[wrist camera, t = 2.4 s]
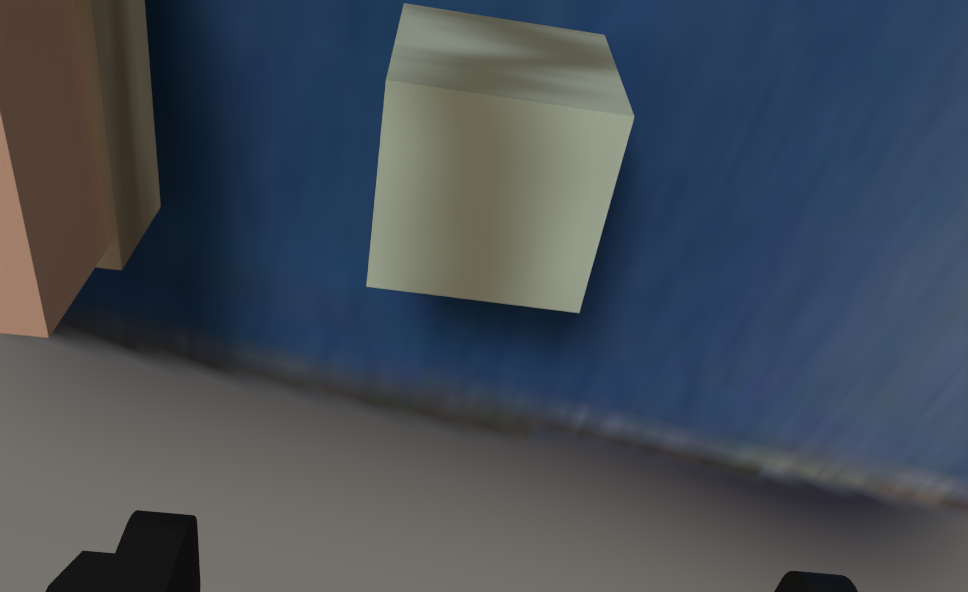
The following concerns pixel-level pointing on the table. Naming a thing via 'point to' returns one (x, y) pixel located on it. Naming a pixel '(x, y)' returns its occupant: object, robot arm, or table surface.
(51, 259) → the tower top block
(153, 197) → the tower base block
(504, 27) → the sage cube
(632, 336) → the table surface
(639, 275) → the table surface
